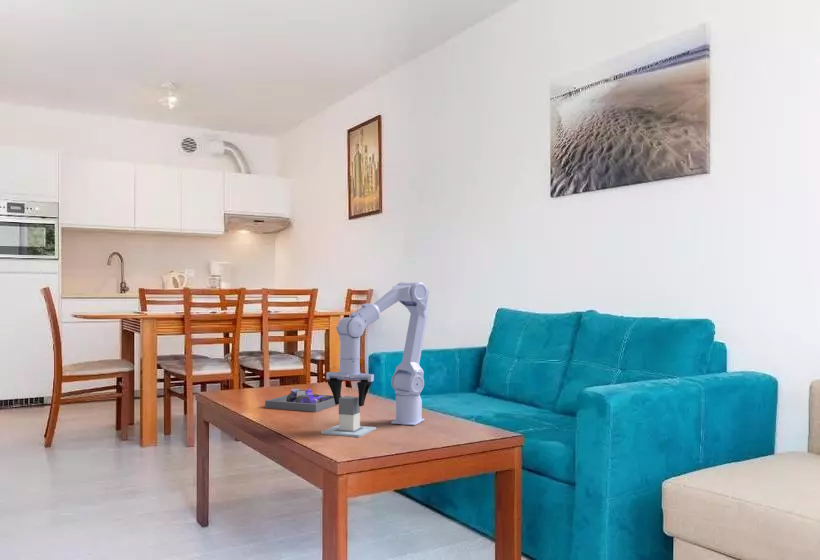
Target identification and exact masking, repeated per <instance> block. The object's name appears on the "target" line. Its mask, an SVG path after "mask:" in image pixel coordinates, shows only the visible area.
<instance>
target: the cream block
mask: <svg viewBox="0 0 820 560" xmlns="http://www.w3.org/2000/svg"><path fill="white" fill-rule="evenodd" d="M338 425H339V430H347V431H355V430H357V429H359V428H360V426H361V412H360V413H357V414H355V415H344V414H339V413H338Z"/></svg>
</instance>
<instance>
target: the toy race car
mask: <svg viewBox="0 0 820 560" xmlns="http://www.w3.org/2000/svg"><path fill="white" fill-rule="evenodd" d="M313 394H314V392H313V389H312V388H308V389H300V388H298V387H297V388H290V393H288V394H287V395H288V396H287V399H286V400H287V402H295V403H308V404H316V403H320V402H323V401H326V400H329V398H328V397H326V396H320V395H321V394H318V393H315V394H314V395H313Z"/></svg>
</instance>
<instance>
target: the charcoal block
mask: <svg viewBox="0 0 820 560" xmlns="http://www.w3.org/2000/svg"><path fill="white" fill-rule="evenodd" d="M357 413H360V414H361V406H359V396H355V395H353V396H351V395H344V396H342V397H341V398H339V404H338V415H339V414H344V415H355V414H357Z"/></svg>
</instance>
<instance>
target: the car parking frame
mask: <svg viewBox="0 0 820 560" xmlns="http://www.w3.org/2000/svg"><path fill="white" fill-rule="evenodd" d="M288 395H289V394H286V395H282V396H278V397H274V398H270V399H267V400H265V405H264V408H265V409H275V410H286V411H287V410H289V411H298V412H311V413H317V412H320V411H323V410H326V409H328V408H332V407H334V406H336V405H335V401H334V397H333V395H330V394H329V395H327V394H319V395H320V396H326V397H328V398H329V400H326V401H323V402H320V403H316V404H308V403H295V402H287V400H286V399H287V396H288ZM313 395H314V393H313ZM341 397H343V396H342V395H341Z"/></svg>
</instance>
